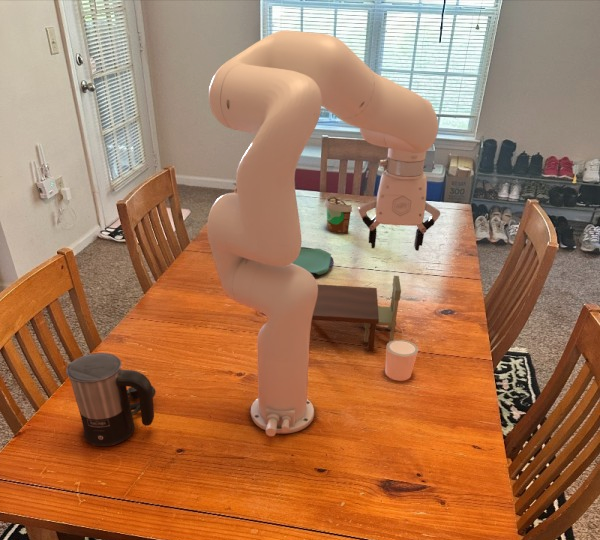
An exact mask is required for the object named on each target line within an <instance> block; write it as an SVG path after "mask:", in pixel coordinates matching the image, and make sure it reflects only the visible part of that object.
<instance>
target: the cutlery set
mask: <svg viewBox="0 0 600 540" xmlns="http://www.w3.org/2000/svg"><path fill="white" fill-rule="evenodd" d="M334 263H335V262H334V258H333V257H332V254H331V253H329V252H328V251H326V250H324V249H322V248H319V247H318V248H316V247H315V248H312V247H306V246H304V247H303V246H301V250H300V253H299V256H298V258H297V259H296V260H295V261H294V262H293V263H292V264H295V265H298V266H300V267H302V268H304V269H306V270H307V271H308V272H310V273H311V274H312V275H318V276H320V275H324V274H327V273H328V272H329V270H330V269H331V268H332V267H333V265H334Z"/></svg>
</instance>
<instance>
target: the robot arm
mask: <svg viewBox="0 0 600 540" xmlns="http://www.w3.org/2000/svg"><path fill="white" fill-rule="evenodd" d="M208 102H209V103H208V104H209V109H210V110H211V113H212V115H213V117H214V118H215V119H216V120H217V122H219V124H221V125H222V126H224V127H226V128H228V129H231V130H233V131H240V132H242V133H248V134H253V135H255V137H254V138H253V140H252V141H251V143H250V145H249V146H248V148H247V149H246V151H245V152H244V154H243V155H242V157H241V159H240V160H239V163H238V166H237V168H236V174H235V183H236V184H235V185H236V191H237V192H228V193H225V194H222V195H220V196H219V197H218V198H217V199H216V200H215V201H214V202H213V204H212V206H211V208H210V210H209V213H208V217H207V223H206V233H207V234H206V235H207V240H208V244H209V248H210V251H211V254H212V258H213V262H214V265H215V266H214V267H215V269H216V272H217V277H218V280H219V283H220V286H221V288H222V290H223V293H224V294H225V295H226V296H227V298H229V299H230V300H232V301H233V302H235V303H237V304H240V305H241V306H244V307H247V308H249V309H252V310H255V311H257V312H259V313H261V314H264V315H265V316H266V322H265V323H264V324H263V325H262V326H261V327H260V329H259V331H258V334H257V338H256V350H257V351H256V353H257V395H258V396H257V398H256V399H255V400H254V401H253V402H252V404H251V407H250V417H251V420H252V421H253V423H254V424H255V425H256V426H257V427H258V428H260V429H261V430H264V431H265V434H266V435H267V436H268V437H274V436H275V435H276V434H280V435H281V434H282V435H283V434H293V433H297V432H299V431H302V430H304V429H305V428H307V427H308V426H310V424H311V423H312V422H313V420H314V418H315V407H314V405H313V403H312V401H311V400H310V399H308V388H309V387H308V384H309V364H310V363H309V361H310V341H311V327H312V321H313V320H312V316H313V312H314V308H315V304H316V300H317V295H318V285H317V284H318V282H317V279H316V277H314V274H311V273H310V272H308V271H307V270H306V269H304V268H302V267H300V266H298V265H295V264H292V263H293V262H294V261H295V260H296V259H297V258H298V256H299V253H300V250H301V247H302V230H301V223H300V215H299V207H298V200H297V191H296V181H295V180H296V179H295V178H296V177H295V176H296V171H297V166H298V163H299V161H300V158H301V155H302V153H303V151H304V149H305V147H306V146H307V144H308V141H309V140H310V139H311V136H312V134H313V132H314V131H315V129H316V127H317V125H318V123H319V120H320V116H321V113H322V108H324V109H325V110H327V111H328V112H330V113H331V114H333V115H334V116H335V117H337V118H338V119H339V120H341V121H342V122H344V123H345V124H348V125H350V126H352V127H355V128H357V129H359V132H360V135H361V138H362V139H363V140H364V141H366V142H367V143H369V144H370V145H373V146H376V147H382V148H387V155H386V157H385V158H384V159H380V160H379V167H380V168H381V167H382V168H384V170H383V171H382V174H381V176H380V180H379V185H378V188H377V189H378V190H377V195H376V199H374V200H371V201H369V202H367V203H364V204H362V205H360V206H359V207H358V212H359V213H358V214H359V215H360V217H361V220H362V223H364V225H365V226H366V227H367V228H368V229H369V230H368V231H369V232H368V244H370V246H371V247H370V248H371V249H375V248H376V241H377V227H379V225H380V224H381V225H388V226H405V227H406V226H407V227H408V226H410V227H414V226H415V227H417V228H416V231H415V238H414V244H413V246H414V250H415V251H416V252H418V251H419V250H420V246H421V247H422V246H423V244H424V236H425V233H426V232H427V231H428V230H429V229H430V228H432V227H433V226H434V224H435V223H436V222H437V221H438V219H439V218H440V216H441V210H439V209H438V208H436V207H434V206H433V205H432V204H430V203H428V202H426V201H427V190H428V189H427V188H428V179H427V174H426V173H425V172H424V169H425V163H426V156H427V151H428V150H430V149H431V147H432V146H433V145H434V143H435V141H436V139H437V136H438V133H439V120H438V116H437V113H436V111H435V110H434V109H435V108H433V103H431V101H430V100H428V99H426V98H424V97H423V96H421V95H419V94H418V93H416V92H414V91H413V90H410V89H409V88H406V87H404V86H403V85H401V84H398V83H397V82H394V81H393V80H391V79H389V78H388V77H385V76H382V75H380V74H378V73H376V72H375V71H373V70H372V69H371V67H369V66H368V65H367V64H366V63H365V62H364V61H363V60H362V59H361V58H360V57H359V55H357V54H356V53H355V52H354V51H353V50H352V49H351V48H350V47H349V46H348V45H347V44H346V43H344V42H343V41H342V40H341V39H339V38H338V37H336V36H333V35H330V34H328V33H322V32H321V33H320V32H309V31H298V30H280V31H276V32H273V33H271V34H268V35H267V36H265V37H264V38H262V39H260V40H258V41H257V42H255V43H253V44H251V45H250V46H249V47H247V48H246V49H244V50H242V51H241V52H239V53H238V54H236V55H234V56H233V57H231V58H230V59H228V60H227V61H225V62H224V63H223V64H222V65H221V66H220V67H219V68H218V69H217V70H216V72H215V74H214V75H213V77H212V79H211V81H210V85H209V89H208ZM373 209H374V211H375V215H374V217H372V218H370V217H369V215H368V214H367V213H368V212H369V211H371V210H373ZM425 211H426V212H427V213H428V214H431V215H430V217H428V218H427V219H426V220H425V221H424V219H425Z"/></svg>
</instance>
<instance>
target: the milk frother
mask: <svg viewBox="0 0 600 540" xmlns="http://www.w3.org/2000/svg"><path fill="white" fill-rule="evenodd" d="M121 368H122V361H121V359H120V358H119V357H118V356H116V355H114V354H112V353H107V352H94V353H89V354H84V355H82V356H80V357H78V358H76V359H74V360H72V361H71V362H70V364H68V365H67V366H66V368H65V369H66V370H65V371H66V372H65V373H66V376H67V378H69V381H70V382H71V383H70V384H71V387H72V390H73V394H74V398H75V401H76V405H77V408H78V412H79V415H80V419H81V422H82V423H81V424H82V428H83V437H84V439H85V441H86V442H87V443H88V444H90V445H93V446H96V447H110V446H115V445H118V444H120V443H123V442H124V441H126V440H128V439H129V438H130V437H131V436H132V435H133V433H134V431H135V423H134V417H133V416H134V415H136V414H137V413H139V412H140V416H141V423H142V425H144V426H145V427H148V426H151V425H152V424H153V422H154V418H155V409H154V408H155V407H154V397H155V396H156V388H155V387H154V386H153V385H152V383H151V381H150V379H149V378H148V377H147V376H146V375H145V374H143V373H141V372H139V371H138V370H133V369H131V370H130V369H121ZM127 387H128V388H127ZM130 399H131V400H132V401H133V402H135V401H136V400H137V399H138V400H139V401H138V402H136V403H131V402H130Z"/></svg>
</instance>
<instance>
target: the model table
mask: <svg viewBox="0 0 600 540" xmlns="http://www.w3.org/2000/svg"><path fill="white" fill-rule="evenodd" d="M317 285H318V295H317V300H316V304H315V308H314V312H313V316H312V321H324V322H337V323H354V324H355V323H357V324H364V323H369V324H370V325H369V334H368V342H367V352H374V346H375V345H374V344H375V337H376V330H377V329H376V328H377V325H376V324H378V322H379V315H378V306H379V304H378V303H379V302H378V301H379V300H378V289H377V288H378V287H367V286H351V285H334V284H318V283H317Z"/></svg>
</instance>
